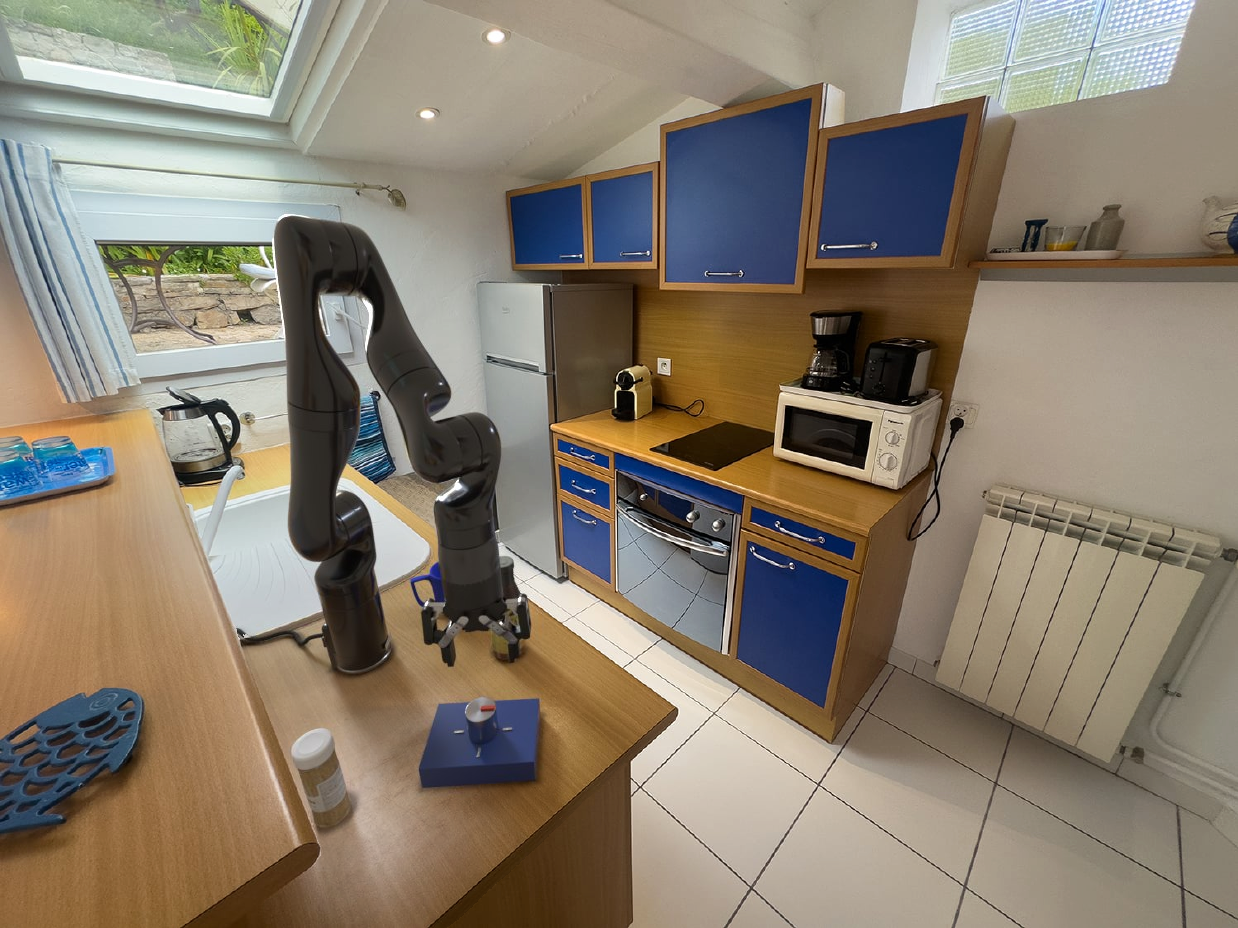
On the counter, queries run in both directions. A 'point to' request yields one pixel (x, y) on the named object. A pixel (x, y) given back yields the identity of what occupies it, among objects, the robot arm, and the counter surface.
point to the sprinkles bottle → (321, 777)
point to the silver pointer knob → (481, 720)
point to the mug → (435, 583)
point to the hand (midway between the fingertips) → (482, 660)
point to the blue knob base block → (482, 747)
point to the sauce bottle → (510, 593)
